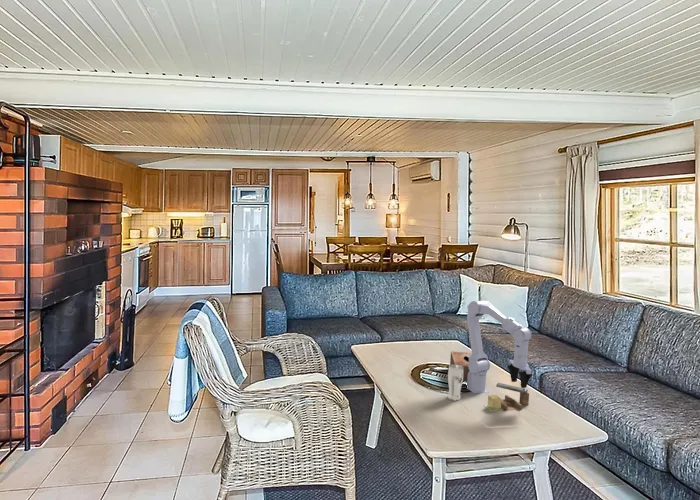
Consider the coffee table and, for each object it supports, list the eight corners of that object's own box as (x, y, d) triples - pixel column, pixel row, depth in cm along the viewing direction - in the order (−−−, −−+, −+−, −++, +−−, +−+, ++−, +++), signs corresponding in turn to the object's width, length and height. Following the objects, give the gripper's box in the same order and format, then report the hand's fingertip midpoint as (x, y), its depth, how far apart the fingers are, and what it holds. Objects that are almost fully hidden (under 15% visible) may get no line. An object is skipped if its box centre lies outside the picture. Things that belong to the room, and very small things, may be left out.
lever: (498, 385, 227) (498, 382, 227) (528, 392, 219) (528, 389, 219) (496, 386, 224) (496, 384, 224) (526, 393, 217) (526, 391, 216)
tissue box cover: (483, 387, 241) (484, 367, 240) (454, 384, 243) (455, 365, 242) (476, 370, 266) (477, 353, 266) (449, 368, 268) (450, 351, 267)
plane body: (490, 401, 222) (490, 388, 221) (519, 399, 225) (519, 387, 225) (504, 411, 210) (505, 398, 210) (534, 409, 213) (535, 397, 213)
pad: (483, 406, 214) (483, 405, 214) (496, 406, 216) (496, 404, 216) (490, 412, 208) (490, 411, 208) (503, 411, 210) (503, 410, 210)
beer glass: (451, 401, 219) (452, 369, 218) (444, 396, 225) (445, 364, 224) (464, 400, 220) (466, 368, 219) (457, 395, 227) (459, 364, 226)
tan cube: (487, 406, 214) (488, 395, 213) (495, 405, 214) (496, 394, 214) (492, 409, 210) (492, 398, 209) (500, 409, 211) (501, 398, 210)
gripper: (538, 359, 209) (536, 390, 210) (519, 350, 223) (517, 378, 224) (524, 359, 208) (521, 390, 209) (505, 350, 222) (503, 379, 223)
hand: (518, 384), depth 216 cm, fingers open, 7 cm apart
